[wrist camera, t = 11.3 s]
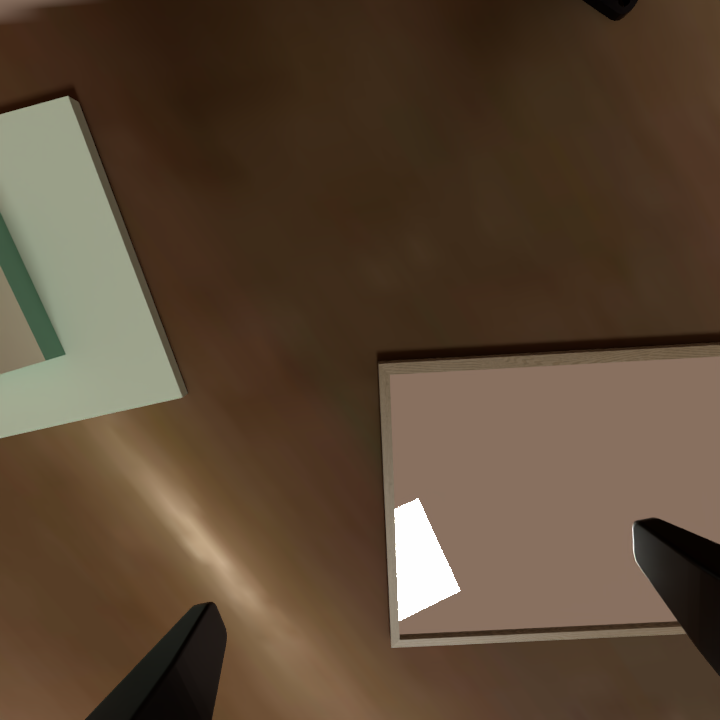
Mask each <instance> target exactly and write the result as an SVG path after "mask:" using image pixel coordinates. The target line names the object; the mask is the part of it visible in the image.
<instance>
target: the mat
mask: <svg viewBox="0 0 720 720" xmlns="http://www.w3.org/2000/svg"><path fill="white" fill-rule="evenodd" d="M0 213H1V215H2V217H3V219H4V221H5V224H6V226H7V228H8V230H9V232H10V234H11V237H12V239H13V241H14V243H15V245H16V247H17V250H18V252H19V254H20V256H21V258H22V260H23V263H24V265H25V267H26V269H27V271H28V273H29V276H30V278H31V280H32V282H33V284H34V286H35V289H36V291H37V293H38V295H39V297H40V299H41V302H42V304H43V306H44V308H45V310H46V312H47V315H48V317H49V319H50V321H51V323H52V325H53V328H54V330H55V332H56V334H57V336H58V338H59V341H60V343H61V345H62V347H63V349H64V351H65V354H66V355H63V356H60V357H56V358H53V359H50V360H46V361H43V362H40V363H36V364H33V365H30V366H26V367H23V368H20V369H16V370H13V371H10V372H6V373H3V374H0V438H3V437H7V436H12V435H16V434H21V433H25V432H30V431H34V430H39V429H43V428H48V427H52V426H57V425H61V424H66V423H70V422H74V421H79V420H83V419H88V418H92V417H97V416H101V415H106V414H110V413H115V412H119V411H124V410H128V409H133V408H137V407H142V406H146V405H151V404H155V403H160V402H164V401H169V400H173V399H178V398H182V397H184V396H185V395H186V394H188V392H187V390H186V387H185V384H184V382H183V379H182V376H181V374H180V371H179V368H178V366H177V363H176V360H175V358H174V355H173V352H172V350H171V347H170V344H169V342H168V339H167V336H166V334H165V331H164V328H163V326H162V323H161V320H160V318H159V315H158V312H157V310H156V307H155V304H154V302H153V299H152V296H151V294H150V291H149V288H148V286H147V283H146V280H145V278H144V275H143V272H142V270H141V267H140V264H139V262H138V259H137V256H136V254H135V251H134V248H133V246H132V243H131V240H130V238H129V235H128V232H127V230H126V227H125V224H124V222H123V219H122V216H121V214H120V211H119V208H118V206H117V203H116V200H115V198H114V195H113V192H112V190H111V187H110V184H109V182H108V179H107V176H106V174H105V171H104V168H103V166H102V163H101V160H100V158H99V155H98V152H97V150H96V147H95V144H94V142H93V139H92V136H91V134H90V131H89V128H88V126H87V123H86V120H85V118H84V115H83V112H82V110H81V107H80V104H79V102H78V101H76V100H74V99H73V98H71V97H69V96H66V97H62V98H58V99H55V100H51V101H47V102H44V103H40V104H36V105H33V106H29V107H25V108H22V109H18V110H15V111H11V112H7V113H4V114H0Z"/></svg>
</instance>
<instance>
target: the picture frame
mask: <svg viewBox="0 0 720 720" xmlns="http://www.w3.org/2000/svg"><path fill="white" fill-rule="evenodd" d="M378 373H379V395H380V417H381V439H382V461H383V483H384V505H385V527H386V549H387V571H388V593H389V615H390V637H391V648H397V647H418V646H439V645H460V644H481V643H502V642H523V641H544V640H565V639H586V638H607V637H628V636H649V635H670V634H686V632H685V631H684V629H683V628H682V626H681V625H680V624H679V622H678V621H677V619H676V618H675V617H674V615H673V614H672V612H671V611H670V609H669V608H668V607H667V605H666V604H665V602H664V601H663V599H662V598H661V597H660V595H659V594H658V592H657V591H656V590H655V588H654V587H653V585H652V584H651V582H650V581H649V580H648V578H647V577H646V575H645V574H644V572H643V571H642V570H641V568H640V567H639V565H638V563H637V561H636V559H635V557H634V552H633V530H632V526H633V523H634V521H636V520H640V519H646V518H651V517H655V518H659V519H662V520H664V521H666V522H669V523H671V524H673V525H676V526H678V527H681V528H683V529H685V530H688V531H690V532H692V533H695V534H697V535H699V536H702V537H704V538H707V539H709V540H711V541H714V542H716V543H718V544H720V342H714V343H696V344H678V345H660V346H642V347H625V348H607V349H589V350H571V351H553V352H536V353H518V354H500V355H482V356H464V357H447V358H429V359H411V360H393V361H378Z"/></svg>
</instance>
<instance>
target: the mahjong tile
mask: <svg viewBox="0 0 720 720" xmlns="http://www.w3.org/2000/svg"><path fill="white" fill-rule="evenodd" d="M63 355H66V354H65V351H64V349H63V347H62V345H61V343H60V341H59V338H58V336H57V334H56V332H55V330H54V328H53V325H52V323H51V321H50V319H49V317H48V315H47V312H46V310H45V308H44V306H43V304H42V302H41V299H40V297H39V295H38V293H37V291H36V289H35V286H34V284H33V282H32V280H31V278H30V276H29V273H28V271H27V269H26V267H25V265H24V263H23V260H22V258H21V256H20V254H19V252H18V250H17V247H16V245H15V243H14V241H13V239H12V237H11V234H10V232H9V230H8V228H7V226H6V224H5V221H4V219H3V217H2V215H1V213H0V374H3V373H6V372H10V371H13V370H16V369H20V368H23V367H26V366H30V365H33V364H36V363H40V362H43V361H46V360H50V359H53V358H56V357H60V356H63Z"/></svg>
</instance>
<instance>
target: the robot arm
mask: <svg viewBox="0 0 720 720" xmlns="http://www.w3.org/2000/svg"><path fill="white" fill-rule="evenodd" d="M583 1H584V2H586V3H587V4H589V5H590V6H592V7H593V8H595V9H596V10H597V11H599V12H600V13H602V14H603V15H605V16H606V17H608V18H609V19H611V20H614V21H616V20H620V19H622V18H623V17H625V16H626V15H627V14H628V13H629V12H630V11H631V10H632V8H633V7H634V6H635V4H636V3H637V1H638V0H622V1H623V3H624V7H622V6H620V5H619V3H618V0H583ZM632 530H633V552H634V557H635V559H636V561H637V563H638V565H639V567H640V568H641V570H642V571H643V572H644V574H645V575H646V577H647V578H648V580H649V581H650V582H651V584H652V585H653V587H654V588H655V590H656V591H657V592H658V594H659V595H660V597H661V598H662V599H663V601H664V602H665V604H666V605H667V607H668V608H669V609H670V611H671V612H672V614H673V615H674V617H675V618H676V619H677V621H678V622H679V624H680V625H681V626H682V628H683V629H684V631H685V632H686V634H687V635H688V636H689V638H690V639H691V640H692V642H693V643H694V645H695V646H696V647H697V649H698V650H699V651H700V652H701V654H702V655H703V656H704V657H705V659H706V660H707V661H708V662H709V664H710V665H711V666H712V667H713V669H714V670H715V671H716V672H717V673H718V675H719V676H720V544H718V543H716V542H714V541H711V540H709V539H707V538H704V537H702V536H699V535H697V534H695V533H692V532H690V531H688V530H685V529H683V528H681V527H678V526H676V525H673V524H671V523H669V522H666V521H664V520H662V519H659V518H655V517H651V518H646V519H640V520H636V521H634V523H633V526H632ZM226 641H227V632H226V628H225V625H224V623H223V621H222V618H221V616H220V613H219V611H218V609H217V606H216V605H215V604H214V603H213V602H207V603H201V604H197V605H194V606H193V607H192V608H191V609H190V610H189V611H188V612H187V613H186V614H185V615H184V616H183V617H182V618H181V619H180V620H179V621H178V622H177V623H176V624H175V625H174V626H173V627H172V629H171V630H170V631H169V632H168V633H167V634H166V635H165V636H164V637H163V638H162V639H161V640H160V641H159V642H158V643H157V644H156V645H155V646H154V647H153V648H152V650H151V651H150V652H149V653H148V654H147V655H146V656H145V657H144V658H143V659H142V660H141V661H140V662H139V663H138V664H137V665H136V666H135V667H134V668H133V670H132V671H131V672H130V673H129V674H128V675H127V676H126V677H125V678H124V679H123V680H122V681H121V682H120V683H119V684H118V685H117V686H116V687H115V688H114V690H113V691H112V692H111V693H110V694H109V695H108V696H107V697H106V698H105V699H104V700H103V701H102V702H101V703H100V704H99V705H98V706H97V707H96V708H95V709H94V711H93V712H92V713H91V714H90V715H89V716H88V717H87V718H86V719H85V720H212V716H213V711H214V706H215V700H216V695H217V690H218V684H219V679H220V674H221V668H222V663H223V658H224V653H225V647H226Z"/></svg>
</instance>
